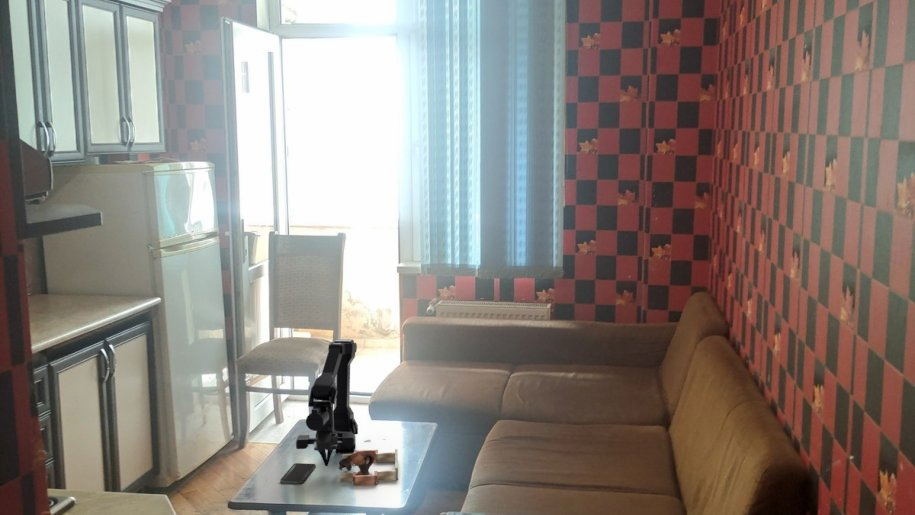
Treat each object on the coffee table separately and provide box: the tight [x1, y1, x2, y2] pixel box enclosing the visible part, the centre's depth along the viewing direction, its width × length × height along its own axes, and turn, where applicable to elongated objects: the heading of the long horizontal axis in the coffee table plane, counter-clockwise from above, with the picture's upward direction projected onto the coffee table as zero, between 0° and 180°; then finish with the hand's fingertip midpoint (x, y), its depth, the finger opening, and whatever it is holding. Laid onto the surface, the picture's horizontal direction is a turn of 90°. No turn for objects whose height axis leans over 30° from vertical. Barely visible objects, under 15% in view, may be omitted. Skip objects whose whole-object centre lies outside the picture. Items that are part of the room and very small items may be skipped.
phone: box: [279, 462, 317, 485], centre depth 270 cm, size 8×1×15 cm
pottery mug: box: [337, 451, 375, 476], centre depth 271 cm, size 12×10×8 cm
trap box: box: [339, 448, 399, 487], centre depth 272 cm, size 18×22×4 cm
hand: (326, 465), depth 271 cm, fingers closed
